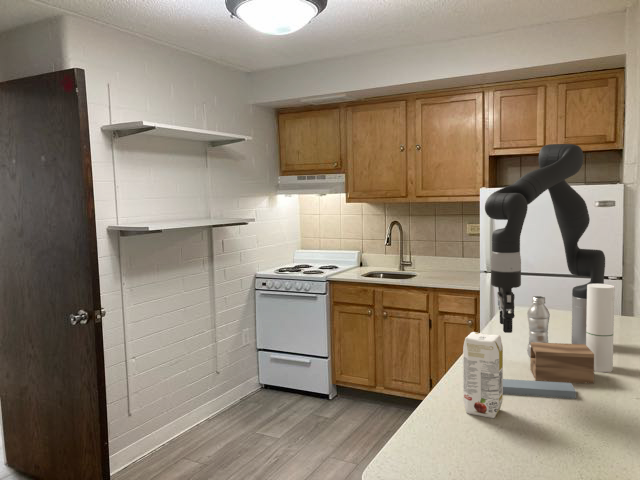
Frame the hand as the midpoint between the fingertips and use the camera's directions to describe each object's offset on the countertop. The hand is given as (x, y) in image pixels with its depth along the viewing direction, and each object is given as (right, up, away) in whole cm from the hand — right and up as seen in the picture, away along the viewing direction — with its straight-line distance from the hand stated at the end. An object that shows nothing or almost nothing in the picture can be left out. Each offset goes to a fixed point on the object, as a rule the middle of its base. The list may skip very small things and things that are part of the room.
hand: (505, 328), depth 139 cm
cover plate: (+7, -18, 0) cm, 19 cm away
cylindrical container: (+34, -15, +16) cm, 40 cm away
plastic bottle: (+20, -15, +26) cm, 35 cm away
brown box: (+20, -16, +10) cm, 27 cm away
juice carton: (-10, -19, -11) cm, 24 cm away
